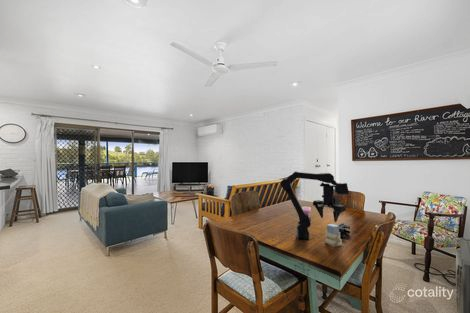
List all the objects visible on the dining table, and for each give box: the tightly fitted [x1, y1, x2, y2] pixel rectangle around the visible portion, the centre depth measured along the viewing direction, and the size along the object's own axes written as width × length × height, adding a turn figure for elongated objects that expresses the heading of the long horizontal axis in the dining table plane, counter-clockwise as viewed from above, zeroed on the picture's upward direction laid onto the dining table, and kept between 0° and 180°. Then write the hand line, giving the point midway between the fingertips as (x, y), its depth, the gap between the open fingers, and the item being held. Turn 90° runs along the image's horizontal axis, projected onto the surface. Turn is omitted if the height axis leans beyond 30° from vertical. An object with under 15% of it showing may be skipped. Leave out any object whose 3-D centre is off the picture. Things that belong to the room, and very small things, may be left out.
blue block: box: [326, 223, 339, 234], centre depth 116 cm, size 4×4×4 cm
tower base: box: [324, 236, 343, 248], centre depth 116 cm, size 6×6×4 cm
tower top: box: [325, 231, 341, 241], centre depth 116 cm, size 6×6×4 cm
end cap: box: [336, 222, 351, 240], centre depth 128 cm, size 10×7×7 cm
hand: (328, 219), depth 119 cm, fingers open, 9 cm apart
